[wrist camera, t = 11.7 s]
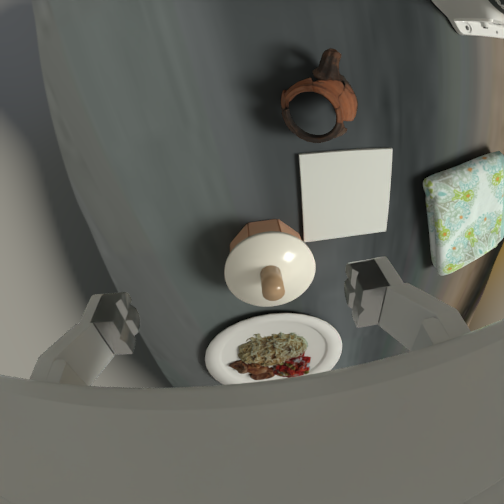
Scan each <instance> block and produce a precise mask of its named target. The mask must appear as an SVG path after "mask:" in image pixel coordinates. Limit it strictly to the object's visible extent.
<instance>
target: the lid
mask: <svg viewBox="0 0 504 504" xmlns="http://www.w3.org/2000/svg"><path fill="white" fill-rule="evenodd" d="M314 274H315V261H314V257H313V255H312V252H311V250H310V249H309V247H308V246H307V245H306V244H305V243H304V242H303V241H302V240H301V239H299V238H297V237H296V236H293V235H291V234H288V233H284V232H278V231H269V232H262V233H258V234H254V235H252V236H249V237H247V238H246V239H244V240H242V241H241V242H240V243H238V244H237V245H236V246H235V247H234V248H233V249H232V251H231V252H230V253H229V255H228V257H227V260H226V263H225V281H226V284H227V286H228V288H229V289H230V291H231V292H232V293H233V294H234V295H235V296H236V297H237V298H239V299H240V300H242V301H244V302H246V303H249V304H252V305H256V306H277V305H281V304H285V303H287V302H290V301H292V300H294V299H295V298H297V297H298V296H300V295H301V294H302V293H303V292H304V291H305V290H306V289H307V288H308V287H309V286H310V284H311V282H312V280H313V278H314Z"/></svg>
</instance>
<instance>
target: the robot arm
mask: <svg viewBox="0 0 504 504" xmlns="http://www.w3.org/2000/svg"><path fill="white" fill-rule="evenodd" d="M432 2H433V3H434V4H435V5H436V6H437V7H438V8H439V9H440V10H441V11H442V12H443V13H444V14H445V15H446V16H447V17H448V19H449V20H450V22H451V24H452V26H453V27H454V29H455V30H456V32H457V33H458V34H460V35H472V36H484V37H494V38H502V39H504V0H432ZM465 27H466V28H465ZM346 274H347V277H348V278H347V279H346V281H345V285H344V291H345V298H346V301H347V304H348V306H349V307H351V308H352V317H353V319H354V322H355V324H356V327H357V328H360V327H365V326H371V325H376V324H379V326H380V327H381V328H383V329H384V330H385V331H386V332H388V333H389V334H390V335H391V336H393V337H394V338H395V339H396V340H398V341H399V342H400V343H401V344H402V345H404V346H405V347H406V348H407V349H409V350H410V352H407V353H404V354H400V355H396V356H393V357H389V358H385V359H381V360H377V361H373V362H368V363H364V364H360V365H355V366H351V367H346V368H341V369H336V370H331V371H326V372H320V373H315V374H309V375H303V376H296V377H290V378H283V379H276V380H268V381H259V382H250V383H241V384H230V385H217V386H201V387H178V388H120V387H98V386H91V385H92V383H93V382H94V381H95V379H96V378H97V377H98V376H99V375H100V373H101V372H102V371H103V370H104V368H105V367H106V366H107V364H108V363H109V362H110V361H111V359H112V358H113V357H114V355H116V354H133V351H134V347H135V343H136V339H135V337H134V336H135V335H136V334H137V333H138V332H139V328H140V317H139V313H138V311H137V309H136V308H135V307H134V306H132V305H131V301H132V299H131V297H130V295H129V294H128V293H126V292H120V293H107V294H97V295H93V296H92V297H91V298H90V301H89V303H88V305H87V307H86V309H85V311H84V314H83V316H82V318H81V320H80V323H79V324H75V325H74V326H73V327H72V328H71V329H70V330H68V332H66V333H65V334H64V335H63V336H62V337H61V338H59V339H58V340H57V341H56V342H55V343H54V344H53V345H52V346H51V347H49V348H48V349H47V350H46V351H45V352H44V353H43V354H42V355H41V356H40V357H39V358H38V360H37V363H36V365H35V367H34V370H33V372H32V375H31V377H30V380H29V379H23V378H17V377H11V376H5V375H0V504H504V319H502V320H500V321H497V322H495V323H492V324H490V325H488V326H485V327H483V328H480V329H478V330H475V331H472V332H471V331H470V330H469V328H468V326H467V325H466V323H465V322H464V320H463V318H462V317H461V315H460V314H459V312H458V311H457V309H455V308H453V307H451V306H449V305H448V304H446V303H444V302H442V301H440V300H438V299H437V298H435V297H433V296H431V295H429V294H427V293H426V292H424V291H422V290H420V289H418V288H416V287H414V286H412V285H410V284H409V283H403V281H402V280H401V278H400V277H399V275H398V274H397V272H396V271H395V269H394V268H393V266H392V265H391V263H390V262H389V260H388V259H387V257H385V256H383V257H378V258H373V259H369V260H363V261H357V262H351V263H347V265H346Z"/></svg>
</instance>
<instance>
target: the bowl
mask: <svg viewBox="0 0 504 504" xmlns="http://www.w3.org/2000/svg"><path fill="white" fill-rule="evenodd" d="M248 224H249V225H248ZM248 224H246V225H245V226H244V228H243V229H242V230H241V231H240V232H239V233H238V235H237V236H236V237H235V238H234V239H233V240H232V242H231V243H230V252H231V251H232V249H233V248H234V247H235V246H236V245H237V244H238V243H240V242H241V241H242V240H244V239H246V238H247V237H249V236H252V235H254V234H258V233H262V232H269V231H278V232H284V233H288V234H291V235H293V236H296V237H297V238H299V239H301V237H300V235H299V233H297V232H296V231H295V230H293V229H292V228H290V227H289V226H287V225H286V224H284V223H283V222H282V221H280V220H279V219H278V220H277V219H272V220H265V221H258V222H250V223H248Z"/></svg>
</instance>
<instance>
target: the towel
mask: <svg viewBox="0 0 504 504" xmlns="http://www.w3.org/2000/svg"><path fill="white" fill-rule="evenodd" d="M423 189H424V191H425V194H426V199H425V200H426V207H427V217H428V228H429V238H430V252H431V260H432V263H433V266H434V267H437V272H438V275H441V276H443V275H447V274H450V273H452V272H454V271H456V270H458V269H460V268H462V267H464V266H465V265H467V264H469V263H470V262H472V261H474V260H476V259H478V258H479V257H481V256H482V255H484V254H485V253H487V252H488V251H490V250H491V249H493V248H495V247H496V246H497V244H498V243H499V242H500V241H501V240H502V239H503V236H504V155H503V154H502V153H501V152H500V151H497V152H494V153H489V154H485V155H483V156H480V157H477V158H475V159H473V160H470V161H468V162H465V163H463V164H461V165H458V166H456V167H453V168H450V169H447V170H444V171H441V172H439V173H436V174H433V175H431V176H429V177H427V178H425V179H424V181H423Z"/></svg>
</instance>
